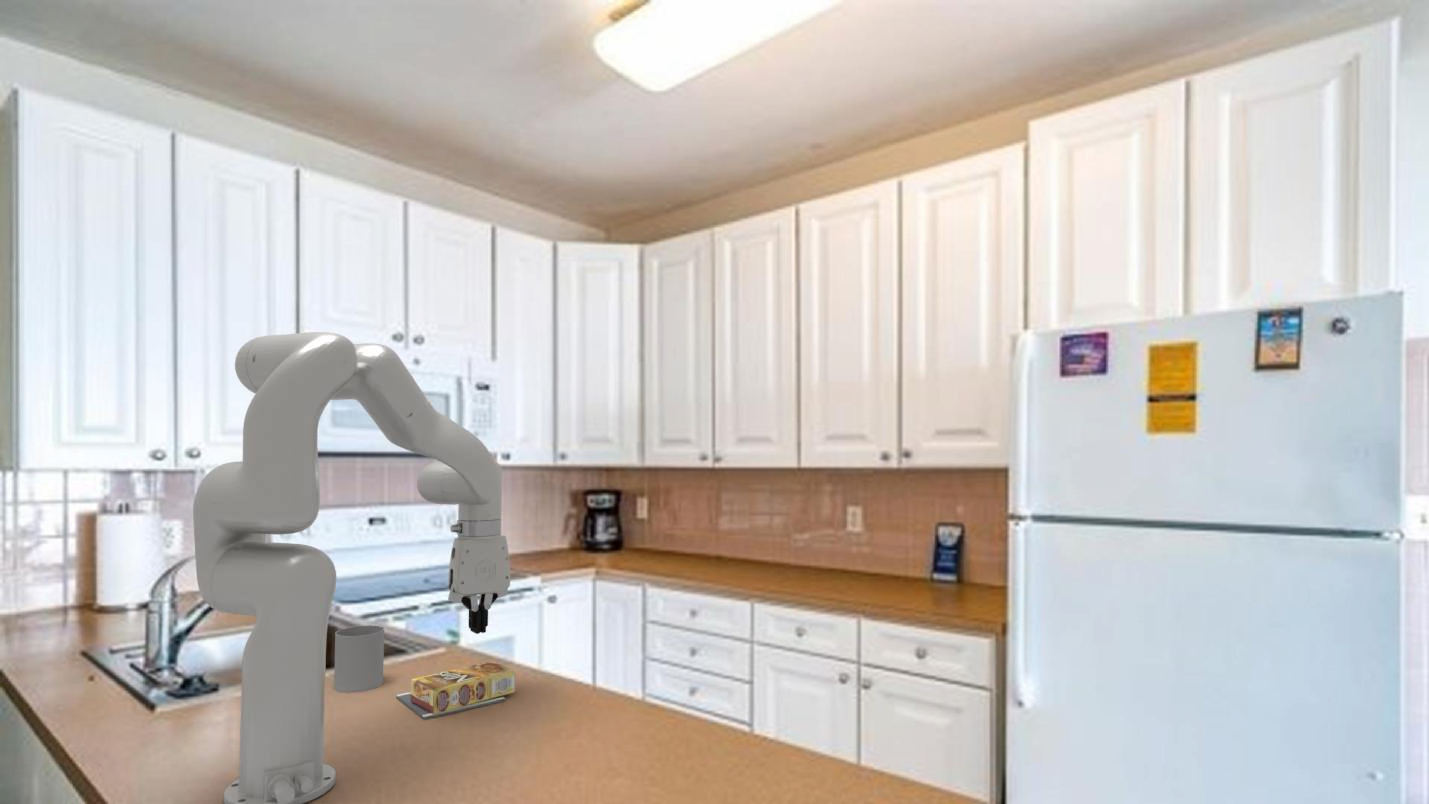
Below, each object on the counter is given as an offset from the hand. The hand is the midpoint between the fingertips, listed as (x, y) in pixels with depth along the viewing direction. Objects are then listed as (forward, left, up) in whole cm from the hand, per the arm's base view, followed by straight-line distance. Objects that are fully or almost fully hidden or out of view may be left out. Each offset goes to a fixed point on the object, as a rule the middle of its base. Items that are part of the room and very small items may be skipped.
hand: (478, 631), depth 137 cm
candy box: (-1, -5, -8) cm, 10 cm away
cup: (+19, +15, -11) cm, 27 cm away
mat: (0, +5, -11) cm, 12 cm away
